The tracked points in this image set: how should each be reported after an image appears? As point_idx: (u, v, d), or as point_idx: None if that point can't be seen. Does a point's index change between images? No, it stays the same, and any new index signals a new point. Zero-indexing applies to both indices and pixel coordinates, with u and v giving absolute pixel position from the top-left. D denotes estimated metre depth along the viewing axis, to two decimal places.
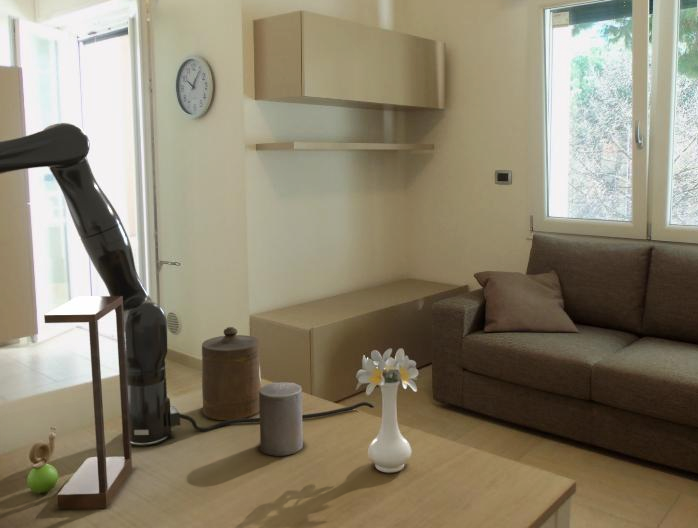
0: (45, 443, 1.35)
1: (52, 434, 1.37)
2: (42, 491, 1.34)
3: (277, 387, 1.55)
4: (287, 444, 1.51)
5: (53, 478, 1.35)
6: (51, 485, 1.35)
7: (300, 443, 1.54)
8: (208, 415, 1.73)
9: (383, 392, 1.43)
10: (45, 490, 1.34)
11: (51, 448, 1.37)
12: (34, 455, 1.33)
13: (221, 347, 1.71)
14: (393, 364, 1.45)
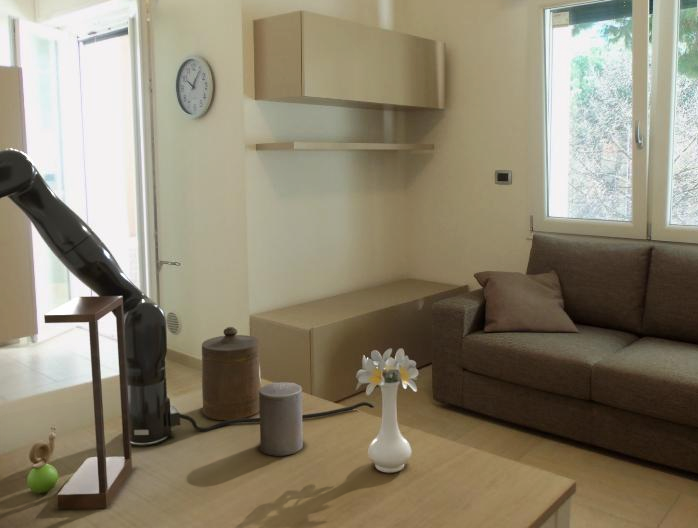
0: (45, 443, 1.35)
1: (52, 434, 1.37)
2: (42, 491, 1.34)
3: (277, 387, 1.55)
4: (287, 444, 1.51)
5: (53, 478, 1.35)
6: (51, 485, 1.35)
7: (300, 443, 1.54)
8: (208, 415, 1.73)
9: (383, 392, 1.43)
10: (45, 490, 1.34)
11: (51, 448, 1.37)
12: (34, 455, 1.33)
13: (221, 347, 1.71)
14: (393, 364, 1.45)
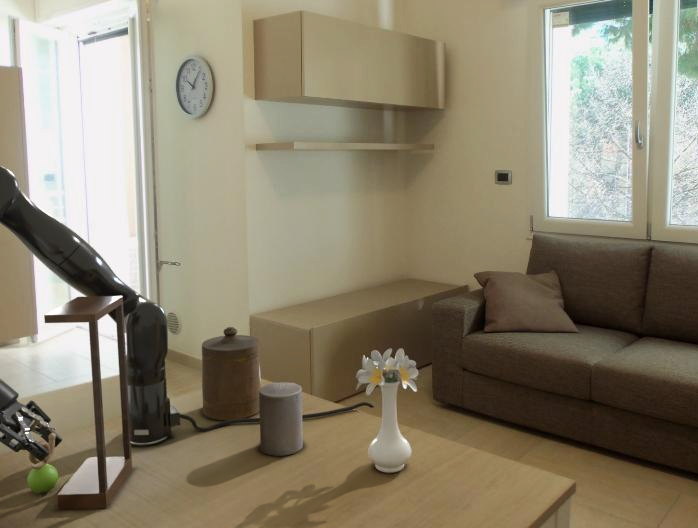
0: (45, 443, 1.35)
1: (52, 434, 1.37)
2: (42, 491, 1.34)
3: (277, 387, 1.55)
4: (287, 444, 1.51)
5: (53, 478, 1.35)
6: (51, 485, 1.35)
7: (300, 443, 1.54)
8: (208, 415, 1.73)
9: (383, 392, 1.43)
10: (45, 490, 1.34)
11: (51, 448, 1.37)
12: None
13: (221, 347, 1.71)
14: (393, 364, 1.45)
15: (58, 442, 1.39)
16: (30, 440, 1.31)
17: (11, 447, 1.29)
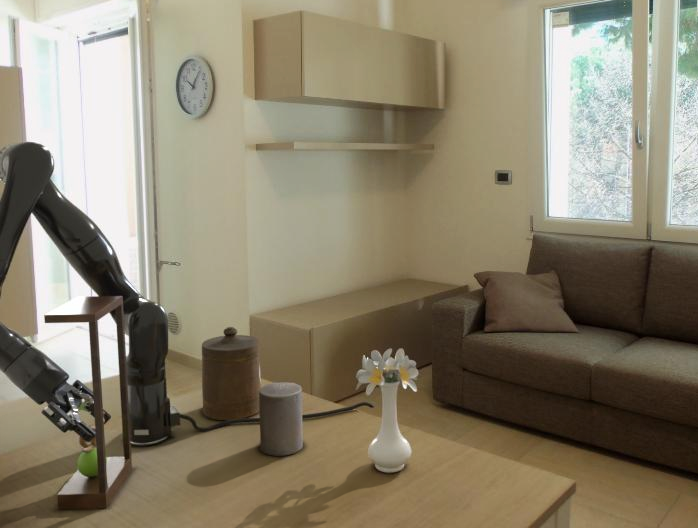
0: None
1: None
2: (92, 475, 1.34)
3: (277, 387, 1.55)
4: (287, 444, 1.51)
5: None
6: None
7: (300, 443, 1.54)
8: (208, 415, 1.73)
9: (383, 392, 1.43)
10: (95, 474, 1.34)
11: None
12: None
13: (221, 347, 1.71)
14: (393, 364, 1.45)
15: (107, 419, 1.40)
16: (77, 420, 1.30)
17: (59, 426, 1.28)
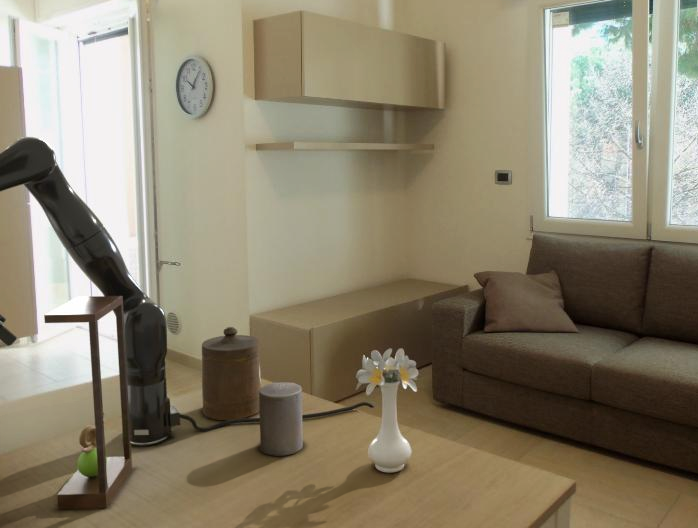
0: None
1: None
2: (92, 475, 1.34)
3: (277, 387, 1.55)
4: (287, 444, 1.51)
5: None
6: None
7: (300, 443, 1.54)
8: (208, 415, 1.73)
9: (383, 392, 1.43)
10: (95, 474, 1.34)
11: None
12: (84, 439, 1.33)
13: (221, 347, 1.71)
14: (393, 364, 1.45)
15: (12, 340, 1.38)
16: None
17: None
